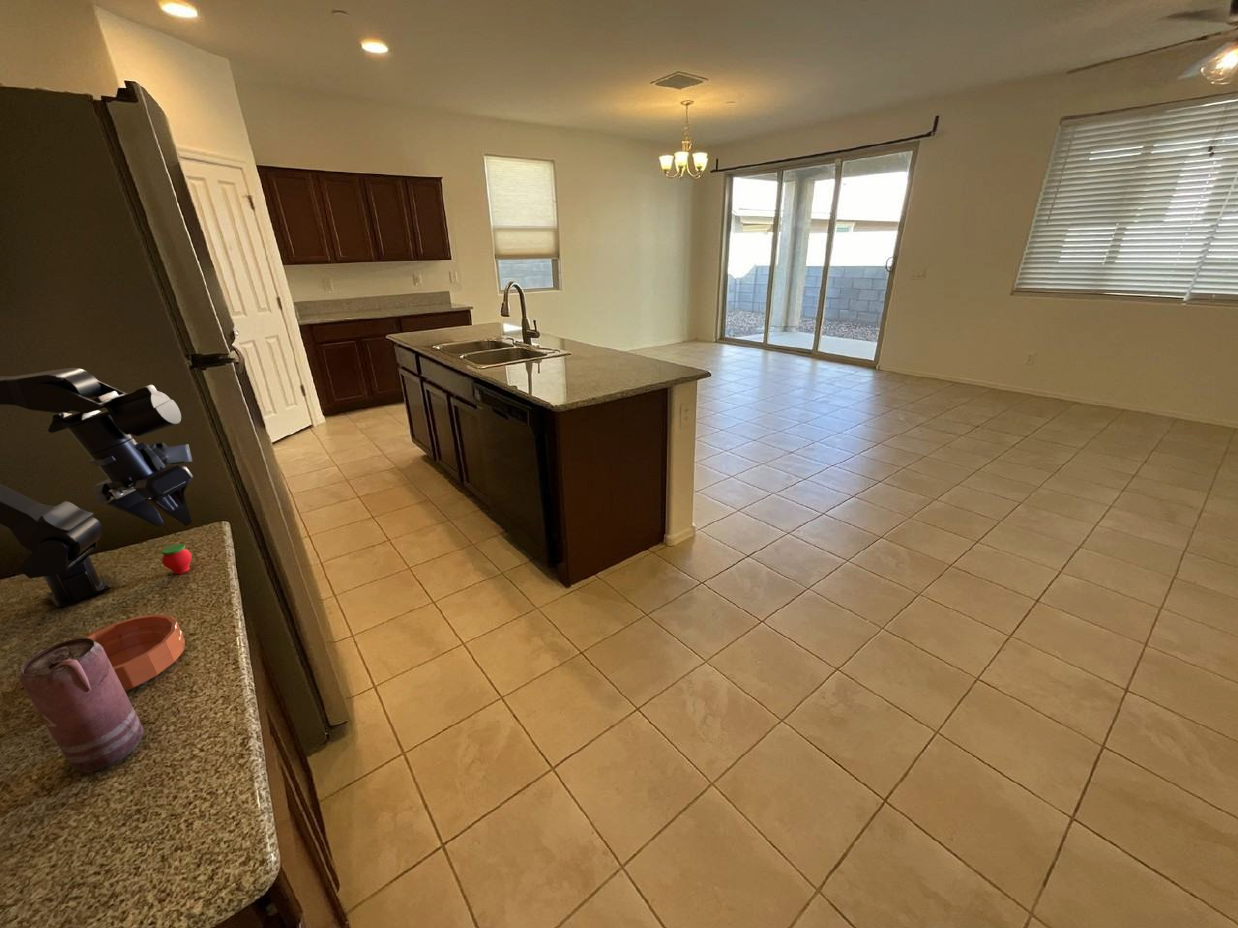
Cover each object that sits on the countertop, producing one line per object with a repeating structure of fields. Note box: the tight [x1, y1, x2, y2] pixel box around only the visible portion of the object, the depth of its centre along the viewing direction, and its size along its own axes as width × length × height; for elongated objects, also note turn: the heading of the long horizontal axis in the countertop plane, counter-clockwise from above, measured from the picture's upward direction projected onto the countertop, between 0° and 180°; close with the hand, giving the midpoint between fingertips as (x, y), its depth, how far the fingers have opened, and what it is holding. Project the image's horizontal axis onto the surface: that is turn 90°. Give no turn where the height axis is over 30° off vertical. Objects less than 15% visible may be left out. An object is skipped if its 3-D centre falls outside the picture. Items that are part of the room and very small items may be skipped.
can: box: [18, 637, 145, 773], centre depth 55 cm, size 6×6×14 cm
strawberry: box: [161, 543, 193, 575], centre depth 91 cm, size 4×4×5 cm
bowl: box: [84, 613, 186, 692], centre depth 69 cm, size 12×12×4 cm
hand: (174, 524), depth 87 cm, fingers open, 9 cm apart
